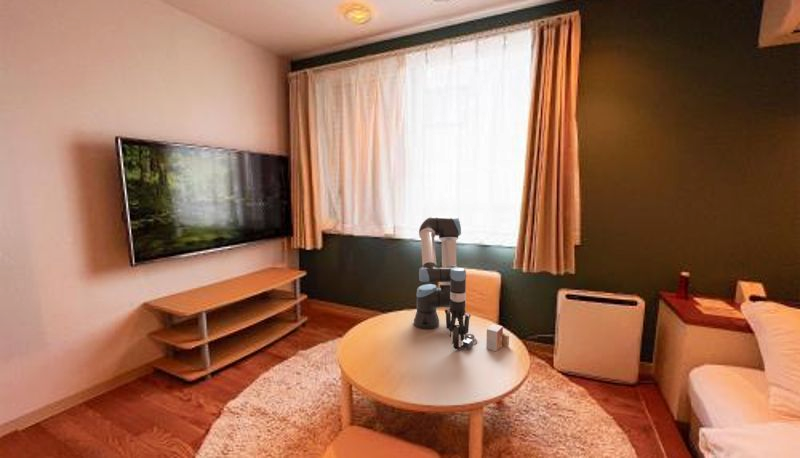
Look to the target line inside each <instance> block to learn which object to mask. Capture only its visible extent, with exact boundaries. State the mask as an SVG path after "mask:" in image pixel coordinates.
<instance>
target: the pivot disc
mask: <svg viewBox="0 0 800 458" xmlns="http://www.w3.org/2000/svg"><path fill="white" fill-rule="evenodd" d="M464 339H465V336H464ZM476 344H478V340H477V338H475V337H474V342H473V346H474V345H476Z"/></svg>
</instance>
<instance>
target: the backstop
mask: <svg viewBox="0 0 800 458" xmlns="http://www.w3.org/2000/svg"><path fill="white" fill-rule="evenodd" d="M509 345H510V335H509V334H507V333H505V332H503V335H502V346H503V347H505V348H509V347H510V346H509Z"/></svg>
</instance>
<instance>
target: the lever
mask: <svg viewBox="0 0 800 458" xmlns="http://www.w3.org/2000/svg"><path fill="white" fill-rule="evenodd" d="M459 334H460V328H459V324H455V325H454V331H453V344H452V346H453V347H452V348H453V349H454V350H457V351H460V350H461V349H464V350H467V351H469V350H470V349H471V348H472V347H474V345H473V342H474V338H475V335H474V334H472V333H467V334H466V335H464V337H465V339H464V340H463V345H462V346H461V347H459Z"/></svg>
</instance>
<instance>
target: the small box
mask: <svg viewBox="0 0 800 458" xmlns="http://www.w3.org/2000/svg"><path fill="white" fill-rule="evenodd" d="M503 331H504V326H502V325H498V324H495V323H492V324H491V325H490V326H489V327H488V328H487V329H486V344H485V345H486V349H488V350H490V351H493V352H494V351H495V352H498V350H500V348H501V347H502V346H503V345H502V335H503V333H504V332H503Z"/></svg>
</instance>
